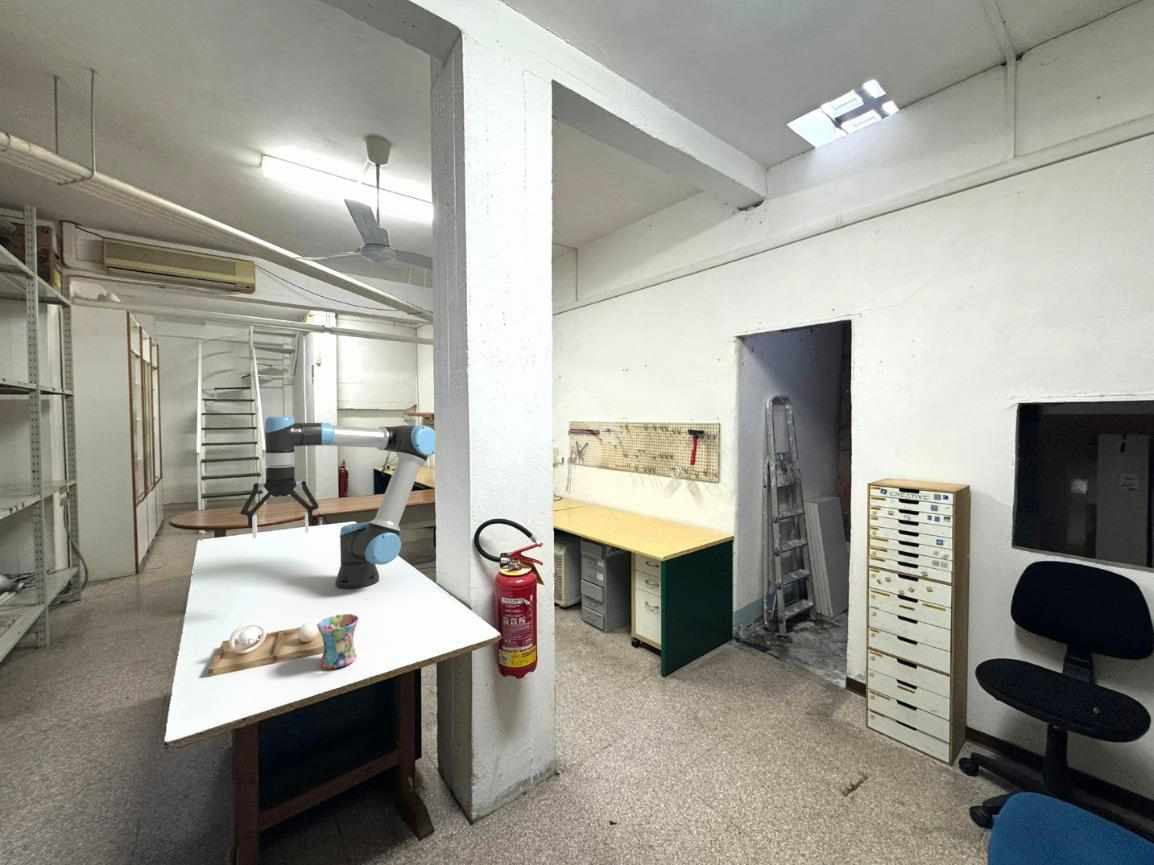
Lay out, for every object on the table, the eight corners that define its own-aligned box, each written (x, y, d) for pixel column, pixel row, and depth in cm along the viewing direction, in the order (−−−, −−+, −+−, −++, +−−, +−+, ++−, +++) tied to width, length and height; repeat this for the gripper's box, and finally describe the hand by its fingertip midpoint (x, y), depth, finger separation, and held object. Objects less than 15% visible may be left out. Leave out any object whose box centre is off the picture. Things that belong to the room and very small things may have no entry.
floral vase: (312, 663, 116) (311, 622, 115) (349, 649, 123) (348, 610, 123) (332, 680, 108) (331, 636, 108) (370, 664, 115) (370, 623, 115)
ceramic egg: (319, 635, 129) (318, 618, 129) (318, 642, 125) (318, 625, 125) (298, 639, 127) (298, 621, 127) (297, 647, 123) (297, 628, 122)
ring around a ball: (264, 644, 124) (264, 616, 124) (269, 652, 120) (269, 622, 120) (228, 655, 118) (227, 625, 118) (231, 663, 114) (231, 632, 114)
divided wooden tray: (335, 627, 136) (335, 620, 136) (334, 651, 122) (334, 643, 122) (223, 648, 123) (222, 641, 123) (208, 677, 109) (207, 669, 109)
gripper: (326, 463, 150) (327, 527, 150) (233, 467, 138) (234, 536, 138) (326, 465, 143) (327, 532, 143) (227, 469, 131) (229, 542, 132)
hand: (281, 534), depth 141 cm, fingers open, 13 cm apart
